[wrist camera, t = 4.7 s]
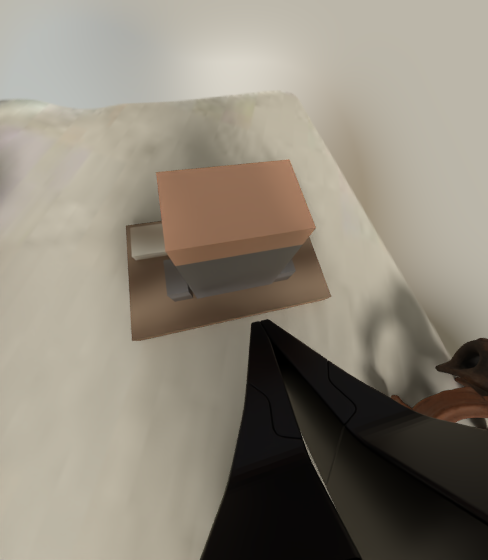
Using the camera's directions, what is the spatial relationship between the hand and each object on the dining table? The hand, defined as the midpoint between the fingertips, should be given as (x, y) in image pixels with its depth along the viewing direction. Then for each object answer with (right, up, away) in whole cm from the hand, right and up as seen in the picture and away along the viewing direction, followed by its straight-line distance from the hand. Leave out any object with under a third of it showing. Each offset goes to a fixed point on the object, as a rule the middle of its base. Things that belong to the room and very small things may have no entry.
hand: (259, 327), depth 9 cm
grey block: (-2, +3, +8) cm, 9 cm away
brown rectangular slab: (-2, +4, +11) cm, 11 cm away
